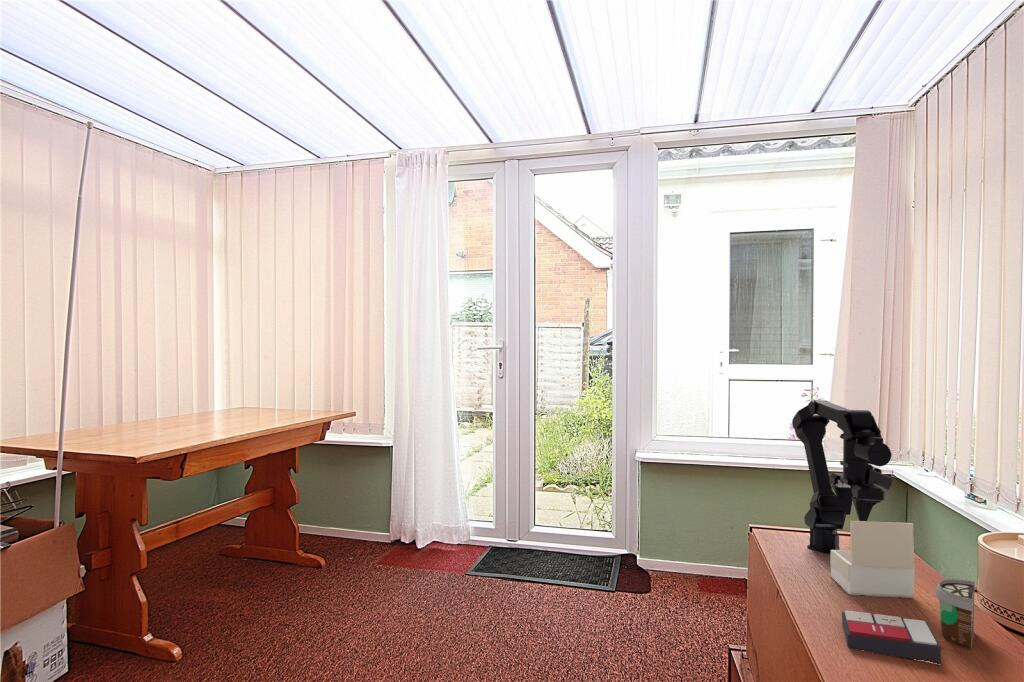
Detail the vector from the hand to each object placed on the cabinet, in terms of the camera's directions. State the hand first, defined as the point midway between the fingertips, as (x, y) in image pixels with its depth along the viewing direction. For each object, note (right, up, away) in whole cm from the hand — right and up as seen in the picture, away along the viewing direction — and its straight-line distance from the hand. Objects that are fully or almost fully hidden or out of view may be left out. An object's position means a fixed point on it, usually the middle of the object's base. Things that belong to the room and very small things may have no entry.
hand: (855, 519), depth 157 cm
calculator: (-15, -14, -38) cm, 43 cm away
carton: (-3, -13, -11) cm, 17 cm away
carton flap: (-3, -1, -16) cm, 16 cm away
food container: (0, -13, -35) cm, 37 cm away
